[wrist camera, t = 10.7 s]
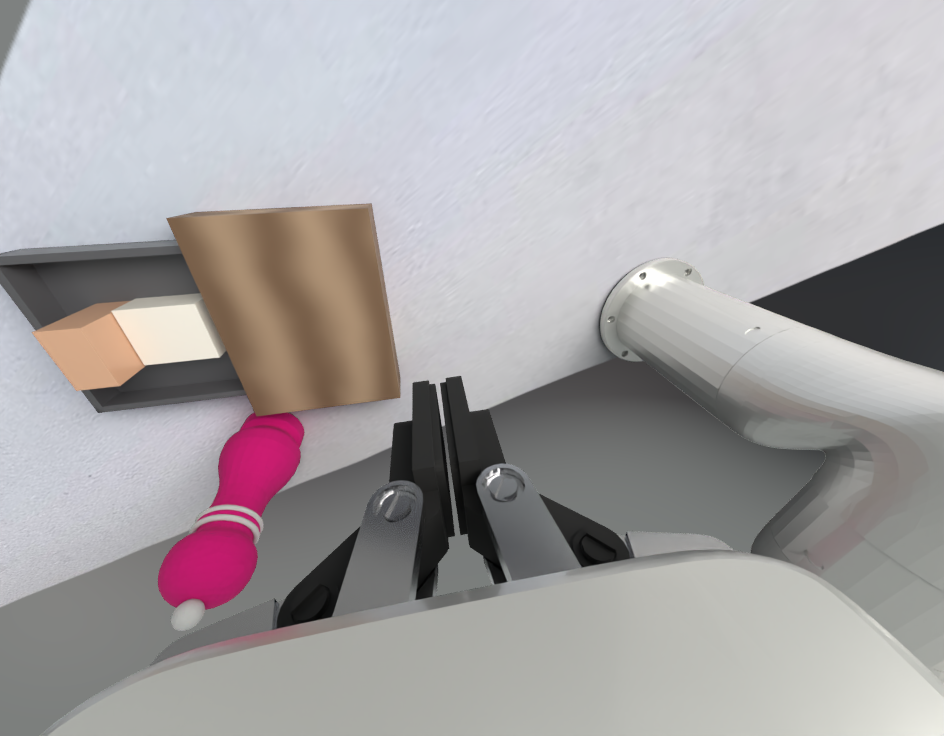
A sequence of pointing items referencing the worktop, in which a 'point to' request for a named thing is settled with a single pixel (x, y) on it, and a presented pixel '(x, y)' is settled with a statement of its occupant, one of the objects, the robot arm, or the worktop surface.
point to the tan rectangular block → (91, 348)
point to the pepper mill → (231, 519)
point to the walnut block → (296, 302)
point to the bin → (115, 280)
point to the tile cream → (170, 329)
